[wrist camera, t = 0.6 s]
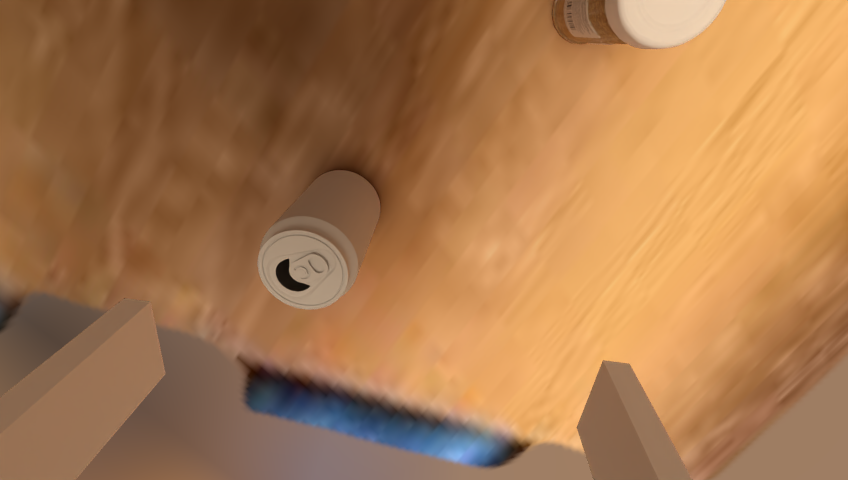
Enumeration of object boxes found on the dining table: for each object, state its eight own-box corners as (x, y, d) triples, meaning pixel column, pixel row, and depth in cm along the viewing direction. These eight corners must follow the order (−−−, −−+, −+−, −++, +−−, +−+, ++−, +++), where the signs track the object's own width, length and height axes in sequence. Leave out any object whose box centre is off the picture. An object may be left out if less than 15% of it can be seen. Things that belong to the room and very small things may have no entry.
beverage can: (294, 188, 36) (228, 254, 26) (355, 153, 35) (313, 207, 24) (336, 247, 39) (292, 329, 28) (396, 216, 37) (373, 291, 26)
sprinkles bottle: (603, 50, 30) (704, 60, 18) (541, 36, 30) (602, 37, 18) (629, -24, 28) (762, -67, 16) (563, -39, 28) (648, -94, 16)
